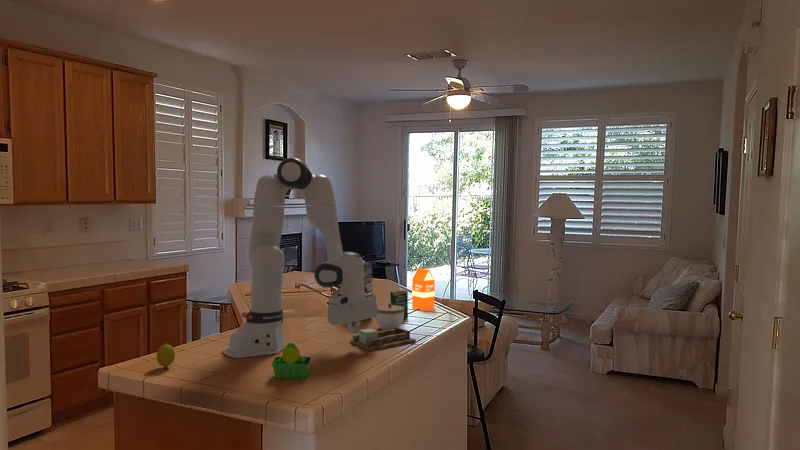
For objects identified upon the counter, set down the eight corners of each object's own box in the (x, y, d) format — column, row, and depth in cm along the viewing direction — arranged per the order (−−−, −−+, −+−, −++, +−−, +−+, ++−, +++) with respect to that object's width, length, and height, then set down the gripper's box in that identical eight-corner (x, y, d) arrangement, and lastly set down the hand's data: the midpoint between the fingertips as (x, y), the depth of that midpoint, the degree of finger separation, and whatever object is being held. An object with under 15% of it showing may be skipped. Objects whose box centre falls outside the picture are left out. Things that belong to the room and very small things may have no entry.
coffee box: (392, 320, 249) (392, 292, 249) (389, 319, 252) (390, 291, 251) (408, 318, 253) (408, 290, 252) (405, 317, 256) (405, 289, 255)
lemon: (169, 364, 181) (169, 340, 181) (178, 367, 178) (178, 343, 177) (153, 368, 177) (153, 343, 176) (161, 371, 173) (161, 346, 173)
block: (366, 344, 202) (366, 332, 202) (359, 341, 206) (359, 330, 206) (377, 342, 205) (377, 331, 205) (370, 340, 209) (370, 328, 209)
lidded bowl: (385, 324, 242) (385, 299, 241) (409, 327, 235) (409, 302, 235) (369, 329, 231) (369, 304, 230) (394, 333, 224) (394, 307, 224)
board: (370, 351, 198) (370, 340, 198) (350, 343, 209) (350, 332, 209) (415, 342, 211) (415, 332, 211) (394, 335, 222) (394, 325, 222)
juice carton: (347, 316, 258) (347, 259, 256) (368, 315, 261) (369, 259, 260) (351, 320, 249) (351, 261, 248) (373, 319, 252) (373, 261, 251)
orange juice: (423, 305, 287) (423, 267, 286) (434, 307, 280) (435, 269, 279) (411, 307, 282) (412, 268, 281) (423, 309, 275) (423, 270, 274)
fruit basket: (311, 372, 174) (311, 337, 173) (307, 381, 165) (307, 344, 165) (275, 372, 174) (275, 337, 173) (270, 381, 165) (269, 344, 164)
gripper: (370, 291, 210) (371, 326, 210) (324, 298, 197) (326, 336, 198) (380, 293, 205) (381, 329, 206) (334, 300, 192) (335, 339, 193)
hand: (354, 332), depth 202 cm, fingers closed
